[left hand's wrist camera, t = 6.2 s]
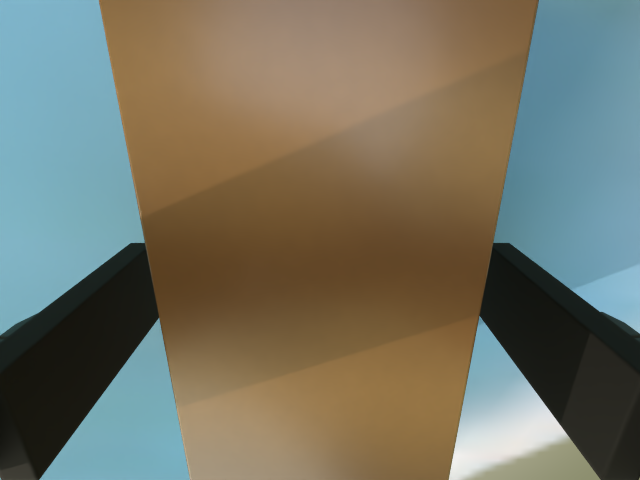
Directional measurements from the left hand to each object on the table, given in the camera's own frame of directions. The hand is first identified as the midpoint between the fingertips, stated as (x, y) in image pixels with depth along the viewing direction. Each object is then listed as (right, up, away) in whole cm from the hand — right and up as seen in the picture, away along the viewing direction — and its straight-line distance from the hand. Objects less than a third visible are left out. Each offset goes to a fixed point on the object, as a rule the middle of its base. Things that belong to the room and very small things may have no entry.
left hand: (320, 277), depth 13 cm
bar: (0, +24, -7) cm, 25 cm away
